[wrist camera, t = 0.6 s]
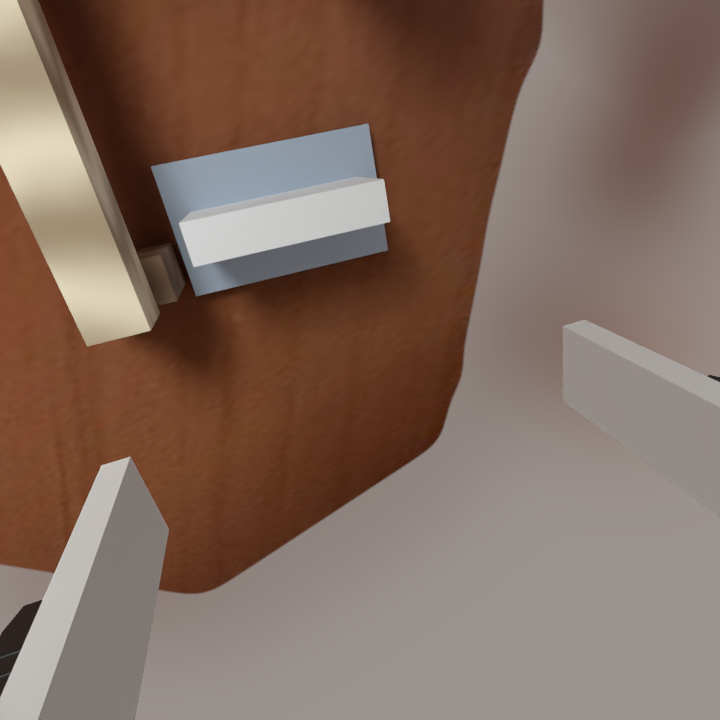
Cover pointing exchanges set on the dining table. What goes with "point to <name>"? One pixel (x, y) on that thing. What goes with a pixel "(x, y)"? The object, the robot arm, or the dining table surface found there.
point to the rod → (66, 184)
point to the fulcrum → (275, 208)
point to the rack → (162, 272)
